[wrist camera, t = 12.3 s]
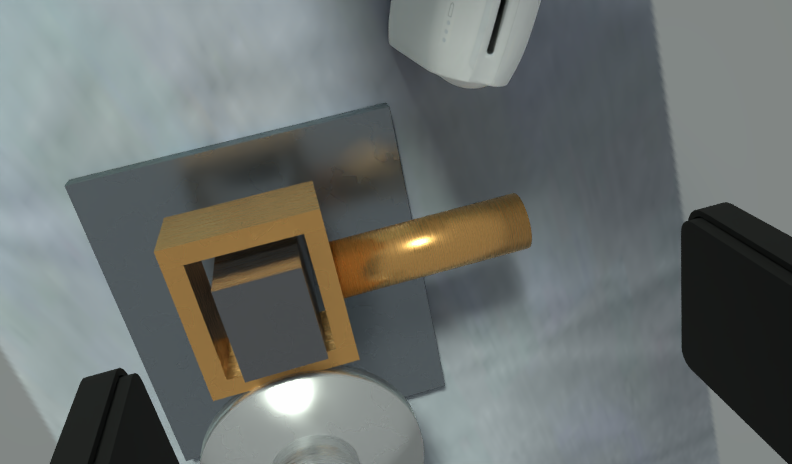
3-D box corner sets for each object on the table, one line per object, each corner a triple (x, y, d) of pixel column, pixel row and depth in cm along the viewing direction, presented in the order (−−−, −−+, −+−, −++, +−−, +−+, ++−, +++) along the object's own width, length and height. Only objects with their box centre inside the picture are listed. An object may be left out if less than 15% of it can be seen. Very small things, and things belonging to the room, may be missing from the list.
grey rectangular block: (220, 208, 38) (210, 292, 29) (288, 190, 38) (301, 267, 29) (245, 282, 40) (244, 382, 31) (310, 265, 40) (328, 358, 31)
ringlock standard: (69, 179, 36) (-36, 321, 23) (465, 83, 39) (580, 160, 25) (196, 472, 46) (175, 693, 32) (508, 380, 48) (609, 551, 35)
